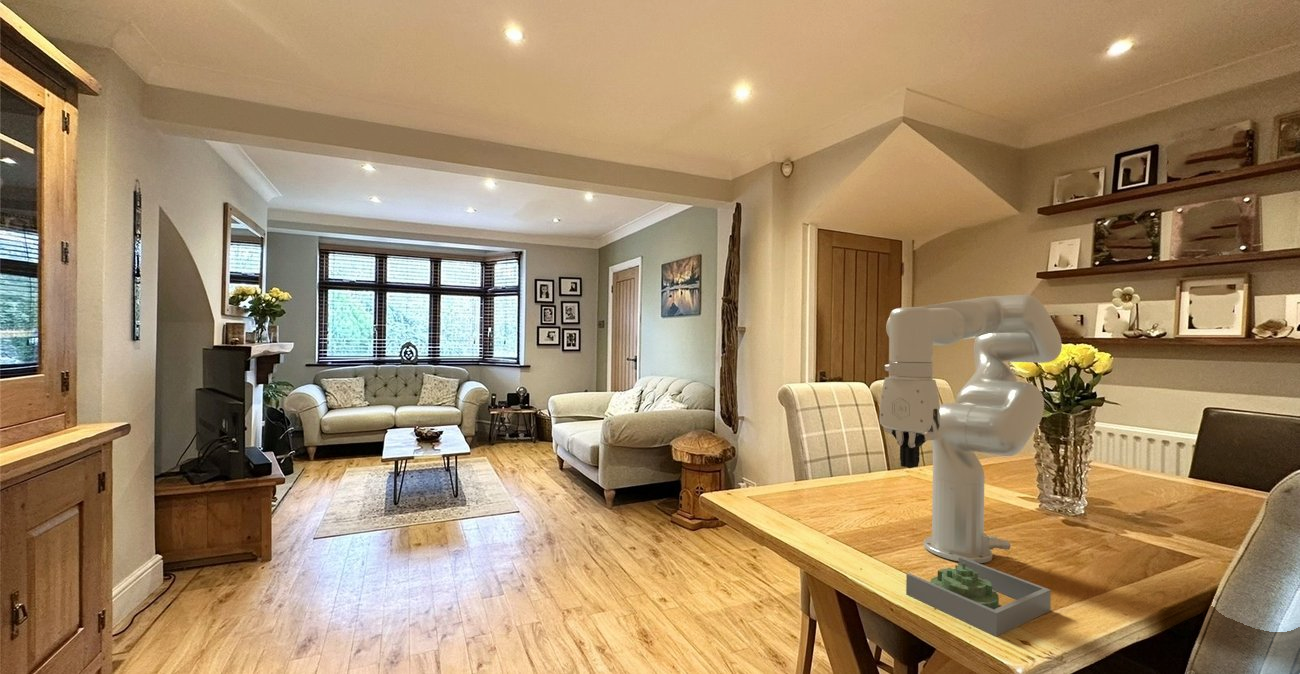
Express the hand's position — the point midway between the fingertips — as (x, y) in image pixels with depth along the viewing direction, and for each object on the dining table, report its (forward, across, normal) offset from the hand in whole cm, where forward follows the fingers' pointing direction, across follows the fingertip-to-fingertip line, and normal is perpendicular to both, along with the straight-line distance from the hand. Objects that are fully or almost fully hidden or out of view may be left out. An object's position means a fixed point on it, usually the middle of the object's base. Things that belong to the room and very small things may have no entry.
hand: (909, 466), depth 100 cm
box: (+21, +12, 0) cm, 24 cm away
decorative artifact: (+21, +12, -2) cm, 24 cm away
